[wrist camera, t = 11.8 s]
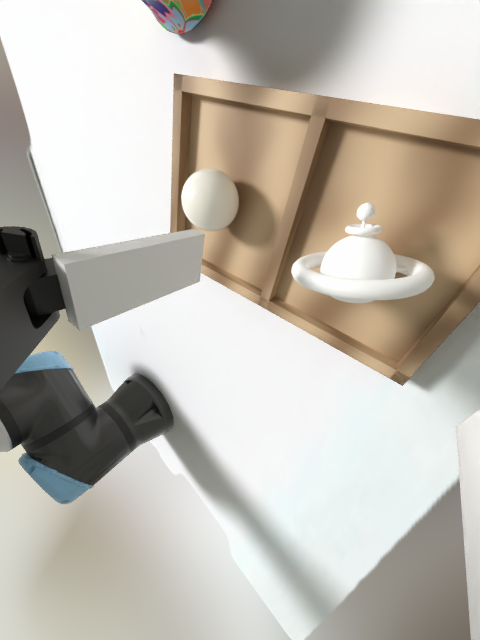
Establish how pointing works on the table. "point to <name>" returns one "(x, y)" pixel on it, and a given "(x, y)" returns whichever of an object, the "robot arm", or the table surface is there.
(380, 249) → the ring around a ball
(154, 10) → the floral vase
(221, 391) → the table surface
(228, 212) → the ceramic egg
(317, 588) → the table surface
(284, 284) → the divided wooden tray
